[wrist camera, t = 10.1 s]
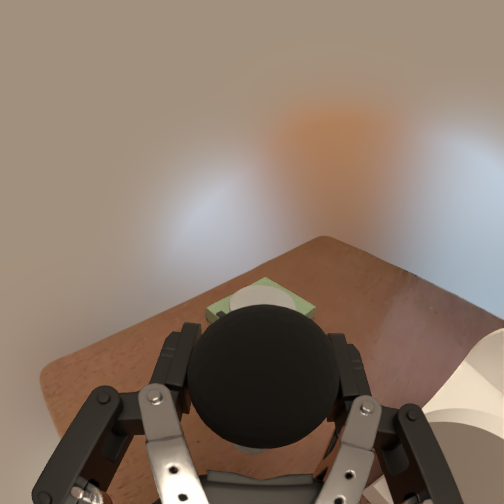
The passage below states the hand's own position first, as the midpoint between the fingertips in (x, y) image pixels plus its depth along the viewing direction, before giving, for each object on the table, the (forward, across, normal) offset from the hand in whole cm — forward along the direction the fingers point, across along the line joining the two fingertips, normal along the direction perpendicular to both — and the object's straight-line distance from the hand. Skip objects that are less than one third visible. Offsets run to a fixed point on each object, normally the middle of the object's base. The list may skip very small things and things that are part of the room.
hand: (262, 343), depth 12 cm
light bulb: (-2, 0, +7) cm, 7 cm away
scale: (+21, -1, +17) cm, 27 cm away
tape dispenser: (-4, -19, +18) cm, 26 cm away
